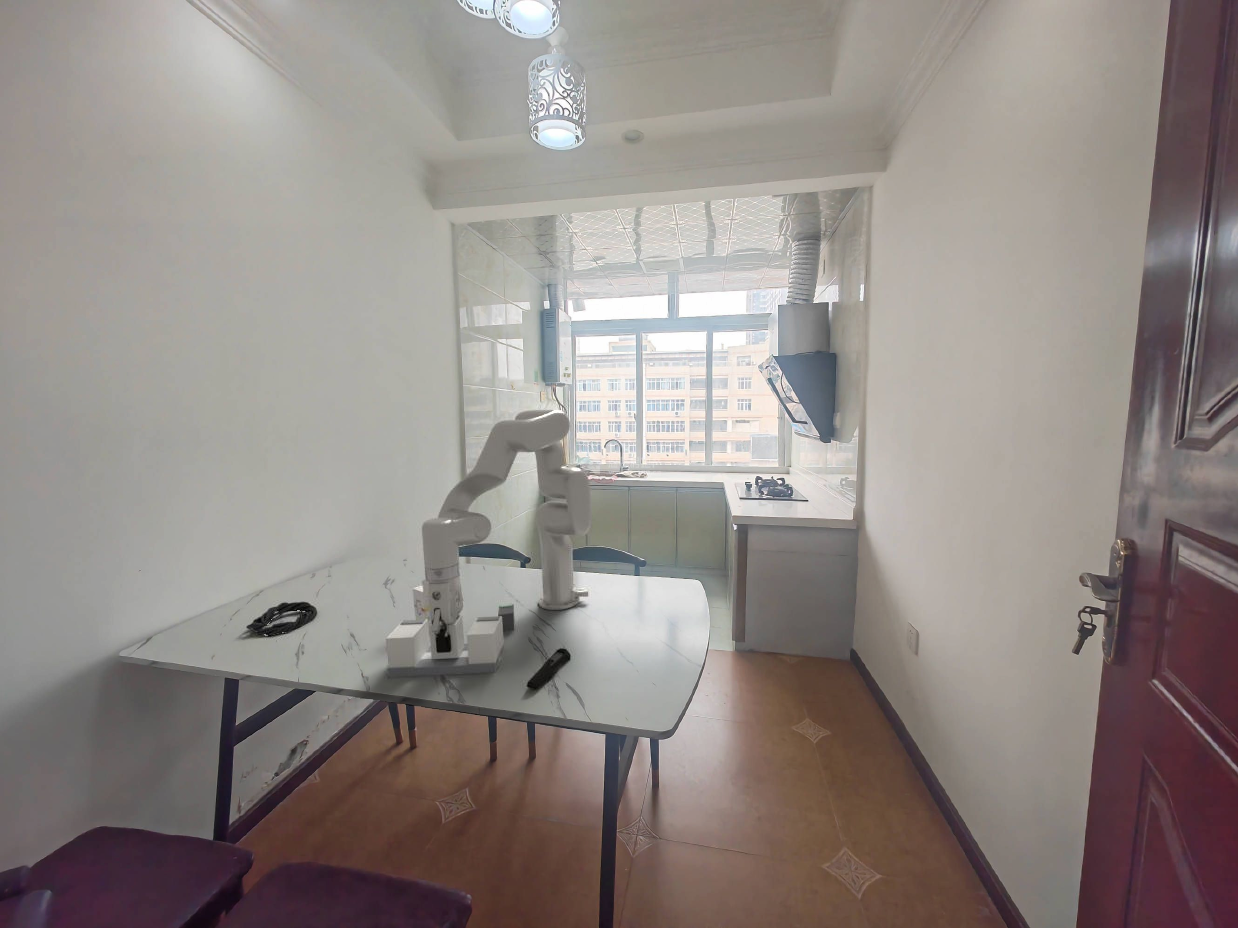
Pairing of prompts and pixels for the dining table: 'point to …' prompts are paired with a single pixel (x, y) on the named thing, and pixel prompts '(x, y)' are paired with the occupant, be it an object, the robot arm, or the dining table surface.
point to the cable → (261, 622)
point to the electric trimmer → (548, 668)
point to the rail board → (414, 658)
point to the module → (456, 640)
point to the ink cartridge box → (421, 602)
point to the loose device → (507, 616)
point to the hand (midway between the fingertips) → (448, 644)
